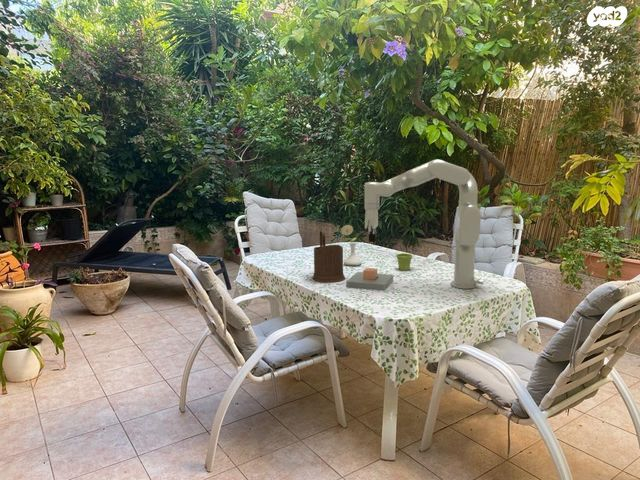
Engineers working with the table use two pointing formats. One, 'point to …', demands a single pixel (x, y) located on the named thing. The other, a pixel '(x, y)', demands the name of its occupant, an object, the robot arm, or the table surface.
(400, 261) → the plant pot
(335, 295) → the table surface
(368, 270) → the plug
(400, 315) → the table surface
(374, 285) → the socket
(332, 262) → the brown cylinder
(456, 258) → the robot arm
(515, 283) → the table surface
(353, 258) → the flower in vase
